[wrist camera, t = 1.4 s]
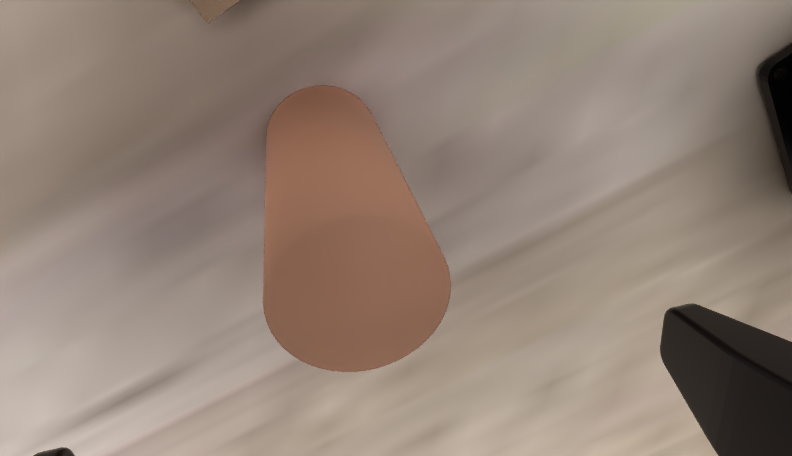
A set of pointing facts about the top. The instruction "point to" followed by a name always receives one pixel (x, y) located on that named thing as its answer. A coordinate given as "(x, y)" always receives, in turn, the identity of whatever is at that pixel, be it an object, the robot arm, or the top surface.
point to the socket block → (212, 7)
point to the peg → (344, 239)
